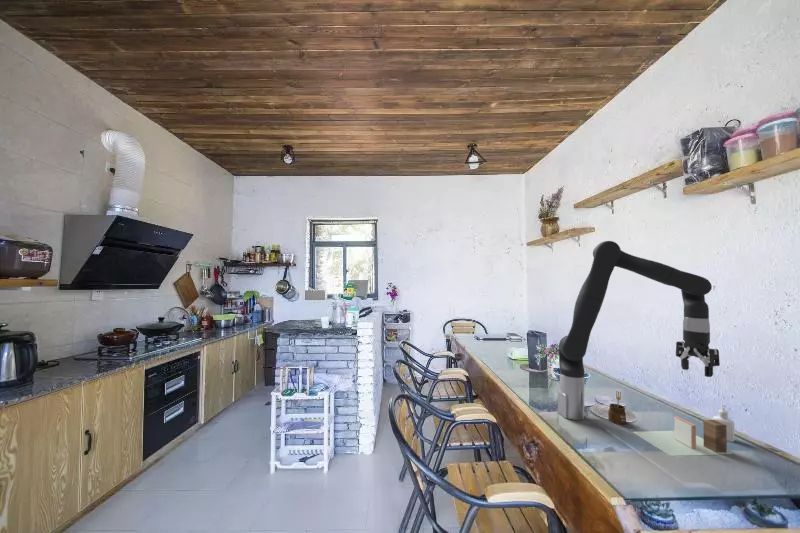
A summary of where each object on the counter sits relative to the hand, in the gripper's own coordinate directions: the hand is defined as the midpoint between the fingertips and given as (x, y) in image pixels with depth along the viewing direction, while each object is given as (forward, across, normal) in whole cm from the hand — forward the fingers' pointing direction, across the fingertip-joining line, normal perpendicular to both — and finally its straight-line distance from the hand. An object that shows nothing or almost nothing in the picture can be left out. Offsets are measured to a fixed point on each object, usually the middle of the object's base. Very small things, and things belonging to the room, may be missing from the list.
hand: (696, 372), depth 123 cm
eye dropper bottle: (+24, +4, +6) cm, 25 cm away
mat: (+23, +6, -13) cm, 27 cm away
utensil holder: (+23, -12, -23) cm, 35 cm away
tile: (+22, +6, -12) cm, 26 cm away
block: (+22, +11, -5) cm, 25 cm away
